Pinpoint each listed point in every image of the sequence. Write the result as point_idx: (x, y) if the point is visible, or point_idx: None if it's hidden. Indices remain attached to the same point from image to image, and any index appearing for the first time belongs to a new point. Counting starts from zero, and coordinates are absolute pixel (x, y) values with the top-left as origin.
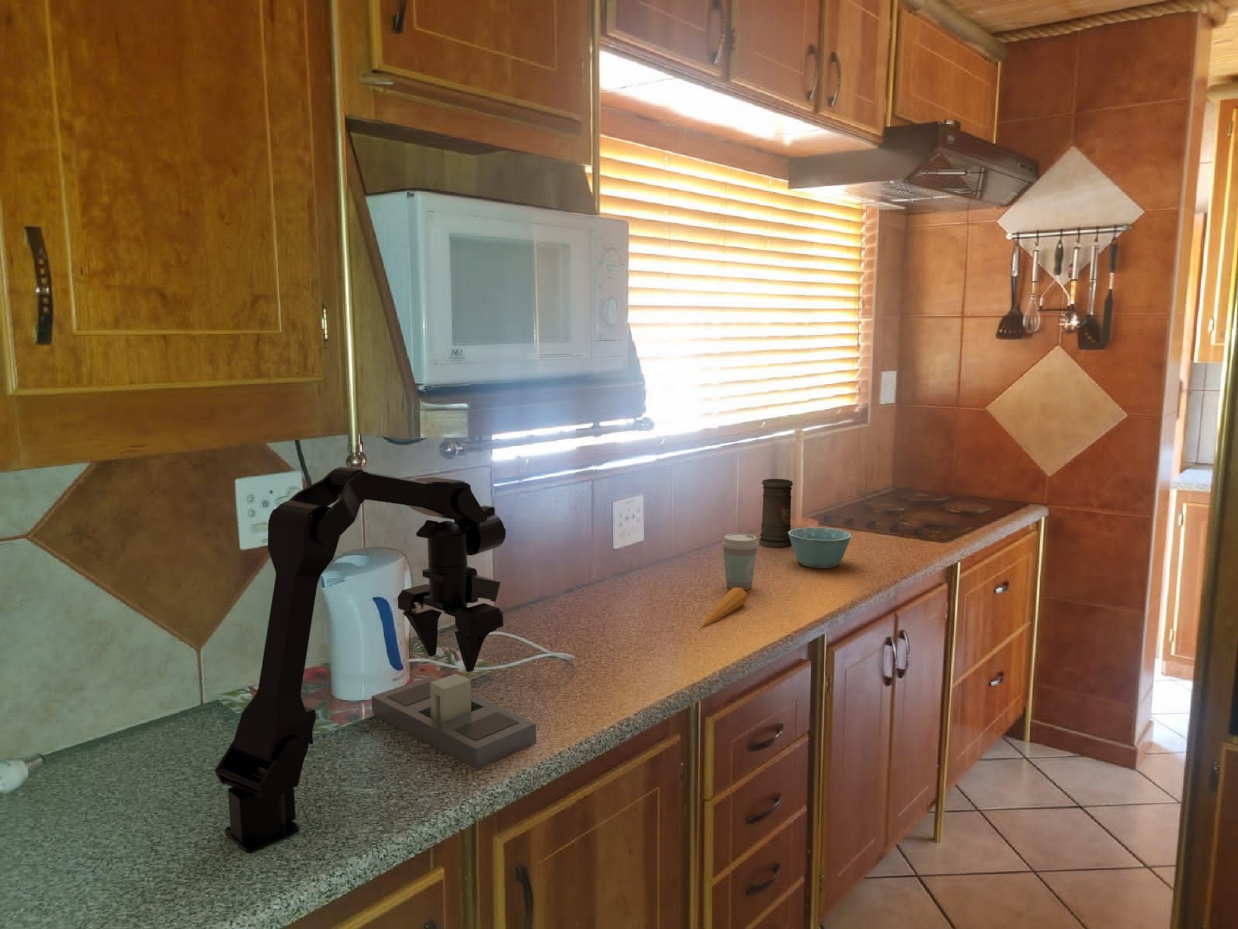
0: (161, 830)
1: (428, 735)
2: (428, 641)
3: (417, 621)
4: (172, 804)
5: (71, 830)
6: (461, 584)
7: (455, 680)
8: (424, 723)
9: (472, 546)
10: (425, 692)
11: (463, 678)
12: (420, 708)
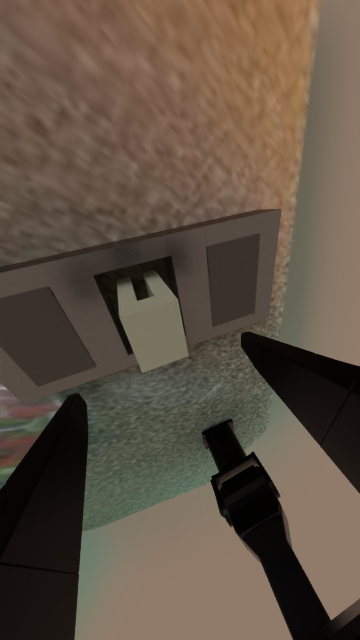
0: (180, 468)
1: None
2: (78, 461)
3: (70, 629)
4: (154, 473)
5: (153, 495)
6: None
7: (160, 329)
8: None
9: None
10: (44, 330)
11: (160, 310)
12: (118, 349)
